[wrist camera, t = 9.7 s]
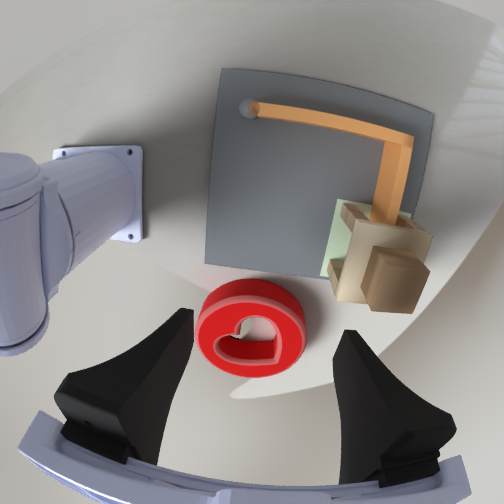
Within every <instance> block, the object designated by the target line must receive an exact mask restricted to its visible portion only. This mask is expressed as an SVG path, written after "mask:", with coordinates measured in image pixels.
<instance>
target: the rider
mask: <svg viewBox="0 0 504 504" xmlns="http://www.w3.org/2000/svg"><path fill="white" fill-rule="evenodd" d="M340 217H341V218H342V220H343V221H344V223H345V224H346V225H347V227H348V228H349V230H350V231H351V232H352V235H351V239H350V243H349V247H348V251H347V254H346V258H345V261H344V265H343V264H342V261H337V260H330V259H329V263H328V267H327V273H328V276H329V279H330V282H331V285H332V288H333V291H334V294H335V297H336V300H337V301H339V302H349V303H360V304H368V305H369V307H370V309H371V311H376V312H390V313H406V314H412V313H413V311H414V309H415V307H416V305H417V302H418V300H419V298H420V296H421V293H422V291H423V289H424V286H425V284H426V281H427V279H428V276H429V274H430V271H429V270H428V268H427V267H426V266H425V265H424V261H425V258H426V255H427V252H428V250H429V247H430V244H431V241H432V237H433V236H431V235H430V234H429V233H428V232H426V231H425V230H424V229H423V228H422V227H420V226H419V225H418V224H416V223H415V222H414V221H413V220H411V219H410V218H409V217H407V216H405V215H400V214H398V216H397V220H396V224H395V225H390V224H385V223H380V222H374V221H370V220H369V219H368V218H367V217H366V216H365V215H364V214H363V213H362V212H361V211H360V210H359V209H358V208H357V207H356V206H355V205H350V204H345V203H342V208H341V213H340Z"/></svg>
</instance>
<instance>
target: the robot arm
mask: <svg viewBox="0 0 504 504" xmlns="http://www.w3.org/2000/svg"><path fill="white" fill-rule="evenodd" d="M130 149H131V150H132V152H133V153H132V155H130V154H129V150H130ZM64 152H66V155H65V154H64ZM142 162H143V149H142V148H141V147H140V146H85V147H67V148H57V149H55V150H54V151H53V161H49V162H46V163H43V164H39V165H38V164H37V163H36V162H35V161H34V160H33V159H32V158H31V157H29V156H26V155H23V154H18V153H6V152H2V153H0V357H10V356H14V355H19V354H21V353H24V352H26V351H27V350H29V349H31V348H32V347H33V346H35V345H36V344H37V343H38V342H39V341H40V340H41V339H42V337H43V336H44V334H45V332H46V330H47V328H48V324H49V317H50V316H49V315H50V313H49V307H48V301H49V300H50V299H51V298H52V297H53V296H54V295H55V294H56V293H57V292H58V286H59V283H60V281H61V280H62V279H63V278H64V277H65V276H66V275H67V274H69V273H70V271H72V270H73V269H74V268H75V267H76V266H78V265H79V264H80V263H81V262H82V261H83V260H84V259H86V258H87V257H88V256H89V255H90V254H91V253H92V252H94V251H95V250H96V249H97V248H99V247H100V246H101V245H102V244H103V243H105V242H106V241H107V240H108V239H114V240H121V241H128V242H135V243H139V242H140V241H141V240H142V239H143V227H142ZM130 234H132V235H133V238H132V237H131V236H130ZM193 314H194V310H191V309H186V308H180V309H179V310H178V311H177V312H175V313H174V314H173V315H172V316H171V317H170V318H169V319H168V320H167V321H166V322H165V323H164V324H162V325H161V326H160V327H159V328H158V329H157V330H155V331H154V332H153V333H152V334H150V335H149V336H148V337H146V338H145V339H144V340H142V341H141V342H140V343H138V344H137V345H135V346H134V347H132V348H131V349H129V350H127V351H126V352H124V353H122V354H120V355H118V356H116V357H115V358H113V359H110V360H108V361H106V362H103V363H101V364H98V365H96V366H93V367H90V368H87V369H84V370H80V371H76V372H72V373H69V374H68V375H67V376H66V377H65V379H64V380H63V381H62V383H61V385H60V386H59V388H58V390H57V391H56V393H55V394H54V399H55V402H56V404H57V406H58V407H59V409H60V410H61V412H62V413H63V415H64V416H65V417H66V419H67V421H66V422H65V424H63V423H62V422H60V421H59V420H57V419H55V418H53V417H52V416H50V415H48V414H46V413H45V412H43V411H39V412H38V414H37V415H36V417H35V418H34V420H33V422H32V423H31V425H30V427H29V429H28V430H27V432H26V433H25V435H24V437H23V439H22V440H21V442H20V444H19V446H18V447H17V449H18V451H19V452H20V453H21V454H23V455H24V456H25V457H26V458H27V459H28V460H29V461H31V462H32V463H33V464H34V465H35V466H36V467H38V468H39V469H40V470H41V471H43V472H44V473H46V474H47V475H49V476H50V477H52V478H54V479H55V480H58V481H59V482H61V483H62V484H64V485H66V486H68V487H69V488H71V489H73V490H75V491H77V492H79V493H81V494H83V495H84V496H86V497H88V498H90V499H92V500H94V501H97V502H99V503H101V504H455V503H457V502H459V501H461V500H463V499H464V498H466V497H468V496H470V495H471V489H470V485H469V482H468V478H467V474H466V471H465V467H464V464H463V461H462V457H461V455H458V456H455V457H452V458H449V459H446V460H443V461H442V462H439V463H438V460H437V458H438V457H439V456H440V452H439V449H440V448H441V447H443V446H444V445H445V444H446V443H447V442H448V441H449V440H450V439H451V438H452V437H453V436H454V434H455V433H456V430H457V428H456V426H455V423H454V420H453V418H452V415H451V414H449V413H447V412H445V411H443V410H441V409H439V408H437V407H435V406H433V405H432V404H430V403H428V402H427V401H425V400H424V399H422V398H421V397H419V396H418V395H417V394H415V393H414V392H413V391H411V390H410V389H409V388H408V387H406V386H405V385H404V384H403V383H402V382H401V381H400V380H399V379H397V378H396V377H395V376H394V375H393V374H392V373H391V371H390V370H389V369H388V368H387V367H386V366H385V365H384V364H383V363H382V362H381V360H380V359H379V358H378V357H377V356H376V354H375V353H374V352H373V351H372V349H371V348H370V347H369V346H368V344H367V343H366V342H365V341H364V339H363V338H362V337H361V336H360V334H359V333H358V332H357V331H356V330H344V332H343V335H342V337H341V340H340V342H339V345H338V347H337V350H336V352H335V354H334V357H333V377H334V383H335V388H336V394H337V399H338V405H339V411H340V417H341V437H342V438H341V467H340V478H339V485H327V486H275V485H259V484H247V483H239V482H232V481H224V480H218V479H212V478H206V477H201V476H196V475H191V474H187V473H182V472H178V471H174V470H170V469H166V468H162V467H159V466H157V462H158V457H159V452H160V447H161V442H162V438H163V433H164V429H165V425H166V421H167V417H168V414H169V410H170V406H171V403H172V399H173V397H174V394H175V392H176V389H177V387H178V384H179V382H180V380H181V377H182V375H183V373H184V370H185V367H186V365H187V363H188V360H189V357H190V354H191V350H192V347H193V343H194V317H193V316H194V315H193Z"/></svg>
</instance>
